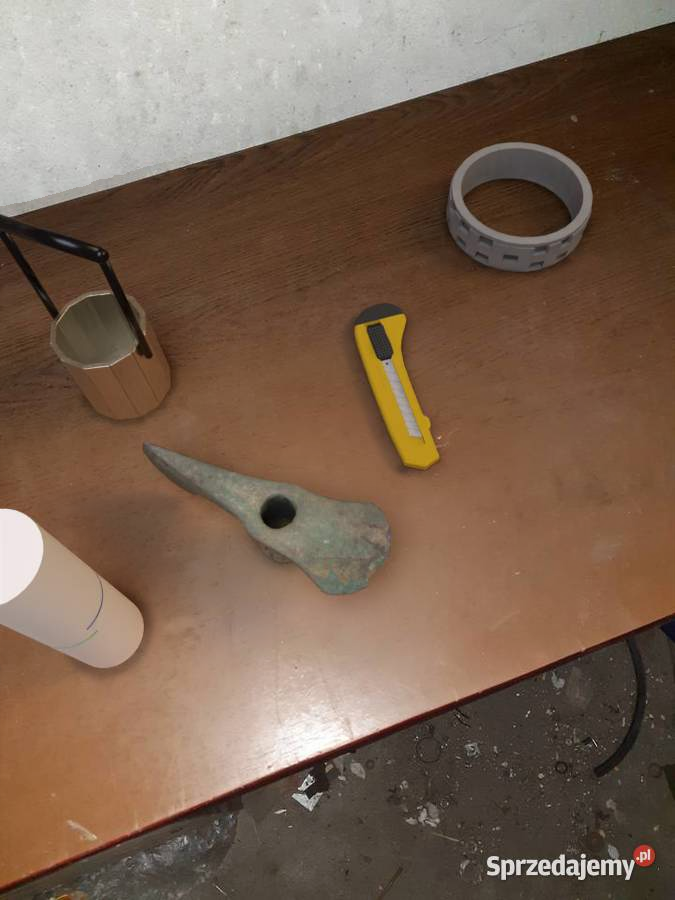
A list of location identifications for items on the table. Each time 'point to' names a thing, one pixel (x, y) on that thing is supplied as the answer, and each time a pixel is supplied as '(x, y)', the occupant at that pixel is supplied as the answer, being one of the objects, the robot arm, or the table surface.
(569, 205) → the ring
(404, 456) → the utility knife
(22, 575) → the cylindrical container
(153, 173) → the table surface
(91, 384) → the bucket
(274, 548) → the axe head
